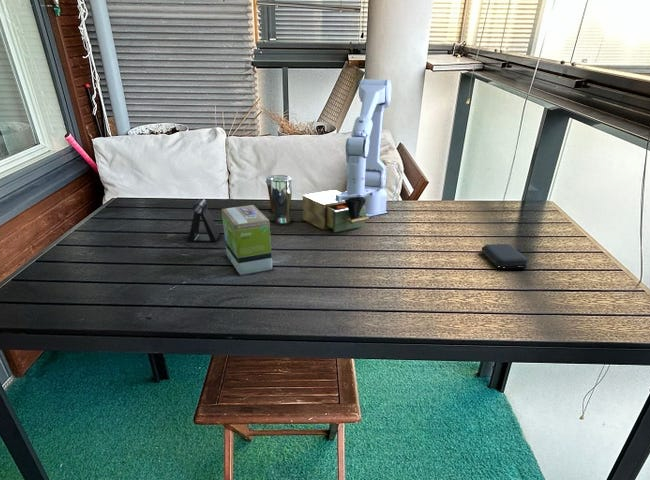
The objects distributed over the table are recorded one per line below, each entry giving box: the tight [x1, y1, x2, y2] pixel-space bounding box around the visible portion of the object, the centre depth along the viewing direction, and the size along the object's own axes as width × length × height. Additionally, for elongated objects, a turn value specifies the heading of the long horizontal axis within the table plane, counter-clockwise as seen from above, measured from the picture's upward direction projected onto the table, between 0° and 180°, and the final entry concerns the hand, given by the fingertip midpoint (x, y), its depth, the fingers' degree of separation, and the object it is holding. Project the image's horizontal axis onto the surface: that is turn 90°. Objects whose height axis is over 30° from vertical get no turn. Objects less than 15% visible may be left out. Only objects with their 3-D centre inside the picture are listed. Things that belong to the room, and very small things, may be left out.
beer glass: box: [271, 176, 293, 226], centre depth 169 cm, size 7×7×15 cm
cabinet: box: [302, 189, 346, 231], centre depth 172 cm, size 14×14×9 cm
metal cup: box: [265, 174, 290, 213], centre depth 182 cm, size 10×10×12 cm
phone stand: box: [187, 198, 220, 243], centre depth 156 cm, size 9×6×12 cm, turn 88°
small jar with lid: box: [335, 205, 347, 211], centre depth 167 cm, size 4×4×5 cm
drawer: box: [325, 203, 370, 233], centre depth 165 cm, size 18×12×7 cm
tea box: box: [221, 204, 273, 276], centre depth 137 cm, size 15×10×15 cm, turn 23°
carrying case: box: [481, 243, 530, 270], centre depth 143 cm, size 11×3×15 cm
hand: (354, 220), depth 161 cm, fingers closed, pressing on drawer
